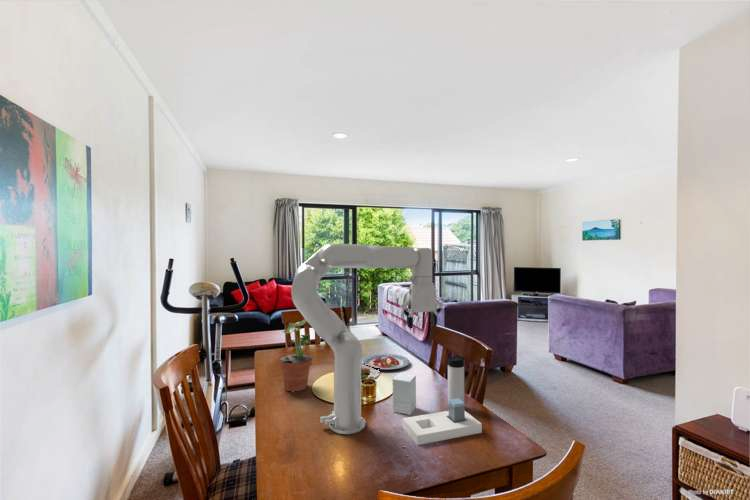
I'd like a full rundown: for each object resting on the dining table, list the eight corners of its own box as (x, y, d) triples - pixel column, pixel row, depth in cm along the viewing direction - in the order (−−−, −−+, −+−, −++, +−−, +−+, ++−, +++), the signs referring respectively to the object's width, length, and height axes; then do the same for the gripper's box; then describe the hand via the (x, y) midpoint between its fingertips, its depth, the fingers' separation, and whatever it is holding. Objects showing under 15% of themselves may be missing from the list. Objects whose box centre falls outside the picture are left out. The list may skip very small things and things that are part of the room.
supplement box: (416, 407, 135) (416, 375, 135) (410, 415, 129) (410, 381, 129) (399, 404, 138) (399, 372, 139) (392, 411, 132) (392, 378, 132)
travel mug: (465, 412, 131) (465, 359, 132) (447, 410, 133) (447, 358, 133) (464, 405, 138) (464, 354, 138) (447, 403, 139) (447, 353, 139)
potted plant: (315, 380, 163) (315, 307, 164) (309, 393, 148) (310, 312, 148) (281, 381, 163) (282, 307, 163) (273, 394, 148) (273, 312, 148)
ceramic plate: (359, 358, 198) (359, 353, 198) (402, 356, 203) (402, 351, 203) (366, 374, 173) (366, 368, 173) (415, 371, 177) (415, 365, 177)
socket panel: (417, 445, 109) (417, 435, 109) (402, 426, 120) (402, 418, 120) (481, 432, 117) (481, 423, 117) (461, 416, 128) (461, 408, 128)
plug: (454, 430, 118) (454, 404, 118) (448, 425, 122) (448, 399, 122) (464, 429, 119) (464, 402, 119) (458, 423, 123) (458, 398, 123)
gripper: (404, 282, 122) (404, 330, 122) (447, 281, 128) (447, 327, 128) (396, 280, 129) (396, 326, 129) (437, 279, 135) (437, 323, 135)
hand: (422, 326), depth 128 cm, fingers open, 9 cm apart
